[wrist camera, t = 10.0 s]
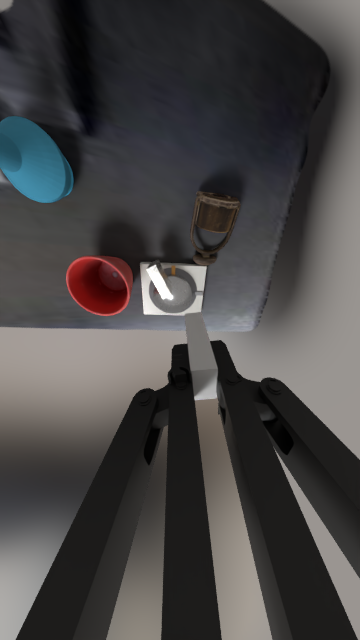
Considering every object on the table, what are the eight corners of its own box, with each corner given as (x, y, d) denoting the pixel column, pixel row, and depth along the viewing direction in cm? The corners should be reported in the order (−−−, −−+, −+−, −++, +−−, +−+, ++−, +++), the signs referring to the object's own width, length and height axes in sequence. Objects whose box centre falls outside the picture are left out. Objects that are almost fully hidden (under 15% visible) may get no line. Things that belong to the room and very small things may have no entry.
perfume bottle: (10, 134, 25) (-167, 38, 12) (69, 132, 25) (-45, 34, 12) (39, 206, 30) (-67, 192, 17) (88, 205, 30) (20, 189, 17)
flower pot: (127, 241, 33) (111, 247, 25) (146, 290, 38) (138, 309, 30) (81, 255, 34) (51, 266, 26) (106, 301, 40) (88, 321, 31)
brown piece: (265, 206, 26) (219, 163, 22) (222, 278, 31) (177, 254, 26) (240, 209, 32) (200, 175, 27) (207, 268, 36) (168, 248, 32)
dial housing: (145, 310, 41) (143, 314, 39) (141, 261, 35) (139, 264, 33) (199, 312, 42) (200, 316, 40) (205, 264, 35) (206, 266, 33)
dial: (196, 300, 37) (200, 315, 31) (165, 314, 39) (162, 330, 33) (173, 249, 32) (173, 255, 26) (137, 268, 33) (129, 277, 27)
